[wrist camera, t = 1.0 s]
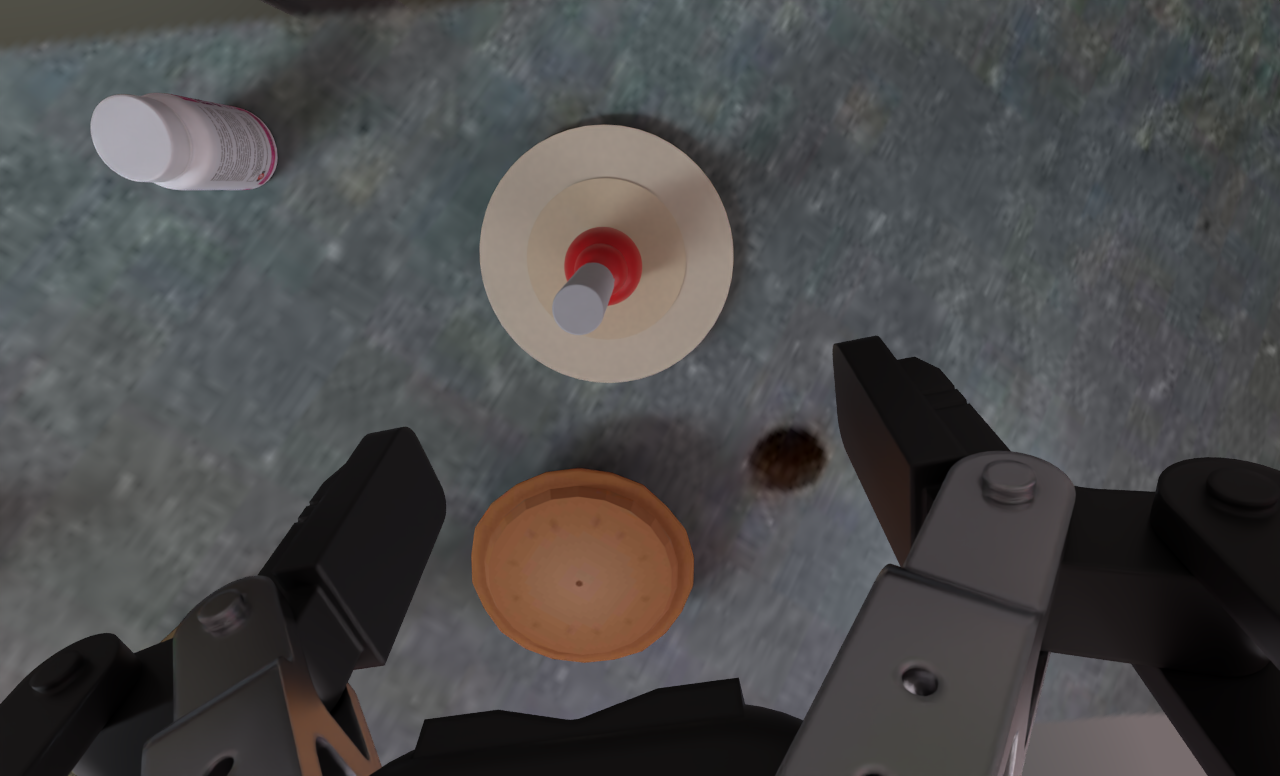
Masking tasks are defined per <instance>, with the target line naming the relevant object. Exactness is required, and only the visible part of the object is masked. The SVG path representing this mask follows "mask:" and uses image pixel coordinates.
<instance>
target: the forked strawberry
mask: <svg viewBox="0 0 1280 776" xmlns="http://www.w3.org/2000/svg"><path fill="white" fill-rule="evenodd" d="M564 271H565V276H566V280H567V283H566V284H565V285H564V286H563V287H562V288H561V289H560V291H559V292H558V293H557V294H556V296H555V298H554V300H553V305H552V312H553V317H554V319H555V321H556V323H557V324H558V325H559V327H560V328H562V329H563V330H564V331H566V332H568V333H570V334H574V335H585V334H588V333H590V332H592V331H594V330H595V329H596V328H597V327H598V326H599V325H600V323H601V322H602V320H603V317H604V314H605V311H606V309H607V306H611V305H615V304H618V303H620V302H622V301H624V300H625V299H627V298H628V297H629V296H630V295H631V294H632V293H633V292H634V291H635V289H636V288H637V286H638V284H639V282H640V279H641V275H642V259H641V255H640V252H639V250H638V248H637V246H636V245H635V243H634V242H633V241H632V239H631V238H630V237H629V236H627V235H626V234H625V233H623V232H621V231H619V230H617V229H614V228H610V227H595V228H591V229H588V230H586V231H584V232H582V233H581V234H580V235H578V236H577V237H576V238H575V239H574V240H573V242H572V243H571V244H570V246H569V248H568V250H567V252H566V256H565V261H564Z"/></svg>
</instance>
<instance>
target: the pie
mask: <svg viewBox="0 0 1280 776" xmlns="http://www.w3.org/2000/svg"><path fill="white" fill-rule="evenodd" d="M471 557H472V582H473V585H474V587H475V589H476V591H477V594H478V596H479V598H480V600H481V602H482V605H483V607H484V609H485V610H486V611H487V613H488V614H489V616H490V617H491V618H492V620H493V621H494V623H495V624H496V625H497V627H498V628H499V630H500V631H501V632H502V633H504V634H505V635H506V636H508V637H509V638H511V639H512V640H514V641H515V642H517V643H518V644H520V645H521V646H522V647H524V648H525V649H528V650H530V651H533V652H536V653H538V654H541V655H544V656H546V657H549V658H552V659H559V660H567V661H576V662H584V663H585V662H595V661H604V660H614V659H617V658H621V657H624V656H627V655H631V654H634V653H637V652H641V651H643V650H644V649H646V648H647V647H648V646H650V645H651V644H652V643H653V642H655V641H656V640H657V639H659V638H660V637H661V636H662V635H664V634H665V633H666V632H667V631H668V629H669V628H670V627H671V625H672V624H673V623H674V621H675V620H676V619H677V617H678V616H679V615H680V613H681V612H682V610H683V607H684V605H685V603H686V600H687V598H688V596H689V593H690V591H691V589H692V586H693V574H694V556H693V553H692V549H691V546H690V542H689V539H688V536H687V532H686V529H685V528H684V527H683V526H682V525H681V523H680V522H679V521H678V520H677V518H676V517H675V516H674V515H673V513H672V512H671V511H670V510H669V508H668V507H667V506H666V505H665V504H664V503H663V502H661V501H660V500H659V499H658V498H657V497H656V496H655V495H654V494H653V493H652V492H651V491H649V490H648V489H647V488H646V487H645V486H644V485H643V484H640V483H637V482H635V481H632V480H630V479H627V478H624V477H622V476H619V475H617V474H614V473H611V472H604V471H597V470H590V469H584V468H575V469H567V470H559V471H551V472H545V473H543V474H540V475H538V476H535V477H533V478H531V479H528V480H526V481H523V482H521V483H519V484H516V485H515V486H514V487H512V488H511V489H510V490H508V491H507V492H506V493H504V494H503V495H502V496H500V497H499V498H498V499H496V500H495V501H494V502H492V503H491V505H490V506H489V508H488V509H487V511H486V512H485V514H484V515H483V517H482V518H481V520H480V521H479V523H478V524H477V526H476V527H475V532H474V540H473V547H472V554H471Z"/></svg>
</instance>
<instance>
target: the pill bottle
mask: <svg viewBox="0 0 1280 776" xmlns="http://www.w3.org/2000/svg"><path fill="white" fill-rule="evenodd" d="M91 136H92V140H93V144H94V146H95V148H96V150H97V152H98V154H99V156H100V157H101V158H102V160H103V161H104V162H105V163H106V164H107V166H108V167H109V168H111V169H112V170H113V171H114V172H116V173H117V174H119V175H121V176H123V177H124V178H127V179H130V180H133V181H138V182H153V183H155V184H157V185H160V186H162V187H165V188H169V189H174V190H249V189H254V188H257V187H260V186H262V185H263V184H265V183H266V182H267V181H268V180H269V179H270V178H271V177H272V175H273V173H274V171H275V169H276V166H277V159H278V156H277V148H276V144H275V141H274V138H273V136H272V134H271V132H270V130H269V129H268V127H267V126H266V125H265V124H264V122H263V121H262V120H261V119H259V118H258V117H257V116H256V115H254V114H252V113H251V112H249V111H247V110H244V109H242V108H238V107H234V106H228V105H222V104H217V103H212V102H207V101H202V100H197V99H192V98H187V97H182V96H177V95H172V94H166V93H150V94H146V95H143V96H135V95H127V94H118V95H113V96H110V97H107V98H106V99H104V100H103V101H101V102H100V103H99V104H98V106H97V107H96V108H95V110H94V112H93V115H92V119H91Z"/></svg>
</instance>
